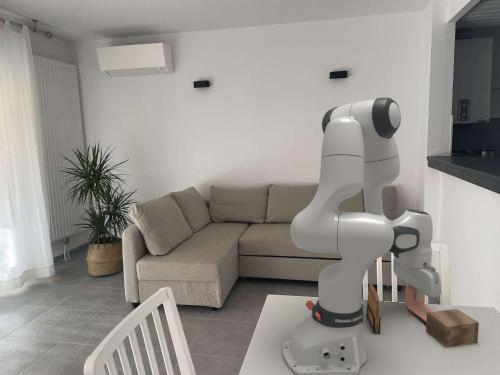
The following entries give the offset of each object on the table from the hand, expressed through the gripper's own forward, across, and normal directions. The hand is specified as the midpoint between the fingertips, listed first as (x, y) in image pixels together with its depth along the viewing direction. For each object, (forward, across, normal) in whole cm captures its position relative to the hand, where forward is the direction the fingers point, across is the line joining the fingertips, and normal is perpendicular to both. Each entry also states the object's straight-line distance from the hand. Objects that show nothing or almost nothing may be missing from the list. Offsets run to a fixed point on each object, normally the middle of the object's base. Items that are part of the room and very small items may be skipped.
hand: (414, 298), depth 115 cm
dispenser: (+4, -17, 0) cm, 17 cm away
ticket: (+3, -6, 0) cm, 7 cm away
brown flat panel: (+4, -6, +18) cm, 19 cm away
